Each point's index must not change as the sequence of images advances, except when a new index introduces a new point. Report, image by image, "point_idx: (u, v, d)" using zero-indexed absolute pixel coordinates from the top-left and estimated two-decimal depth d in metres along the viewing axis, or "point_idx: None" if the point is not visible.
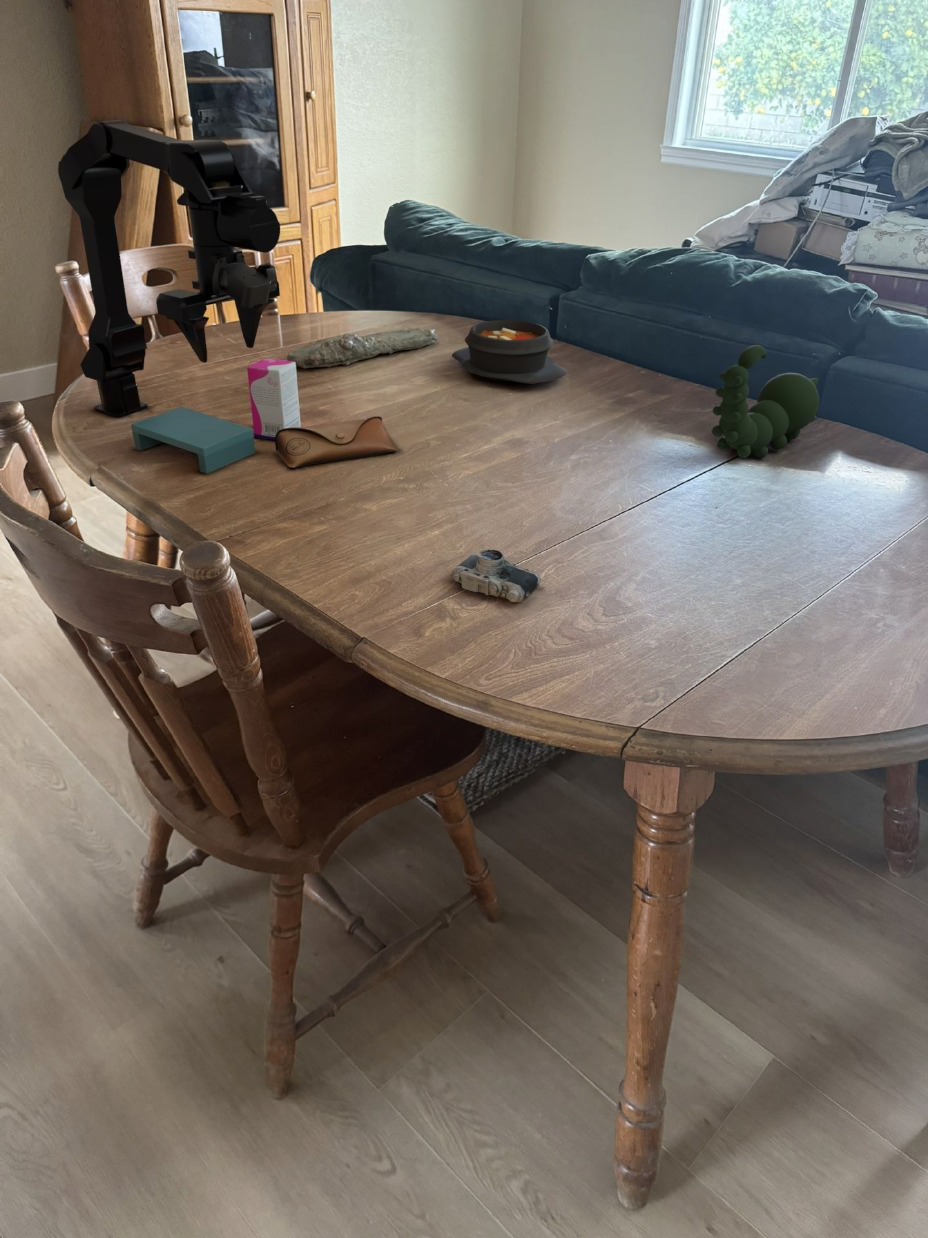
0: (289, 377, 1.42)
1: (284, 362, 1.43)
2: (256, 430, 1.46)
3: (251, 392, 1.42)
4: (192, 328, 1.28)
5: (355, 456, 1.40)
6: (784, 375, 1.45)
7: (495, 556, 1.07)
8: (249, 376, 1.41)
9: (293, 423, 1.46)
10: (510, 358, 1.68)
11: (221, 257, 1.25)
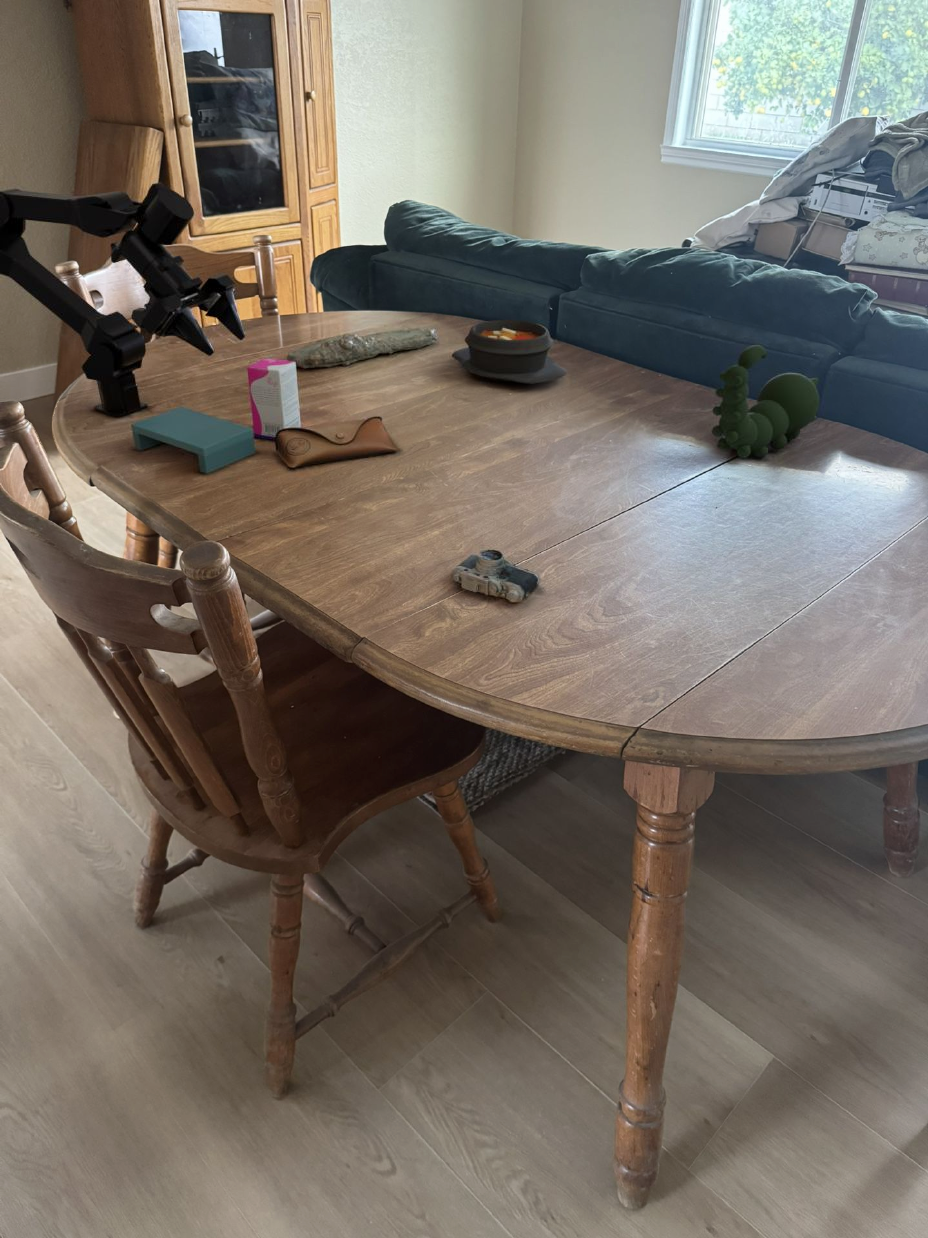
0: (289, 377, 1.42)
1: (284, 362, 1.43)
2: (256, 430, 1.46)
3: (251, 392, 1.42)
4: None
5: (355, 456, 1.40)
6: (784, 375, 1.45)
7: (495, 556, 1.07)
8: (249, 376, 1.41)
9: (293, 423, 1.46)
10: (510, 358, 1.68)
11: None
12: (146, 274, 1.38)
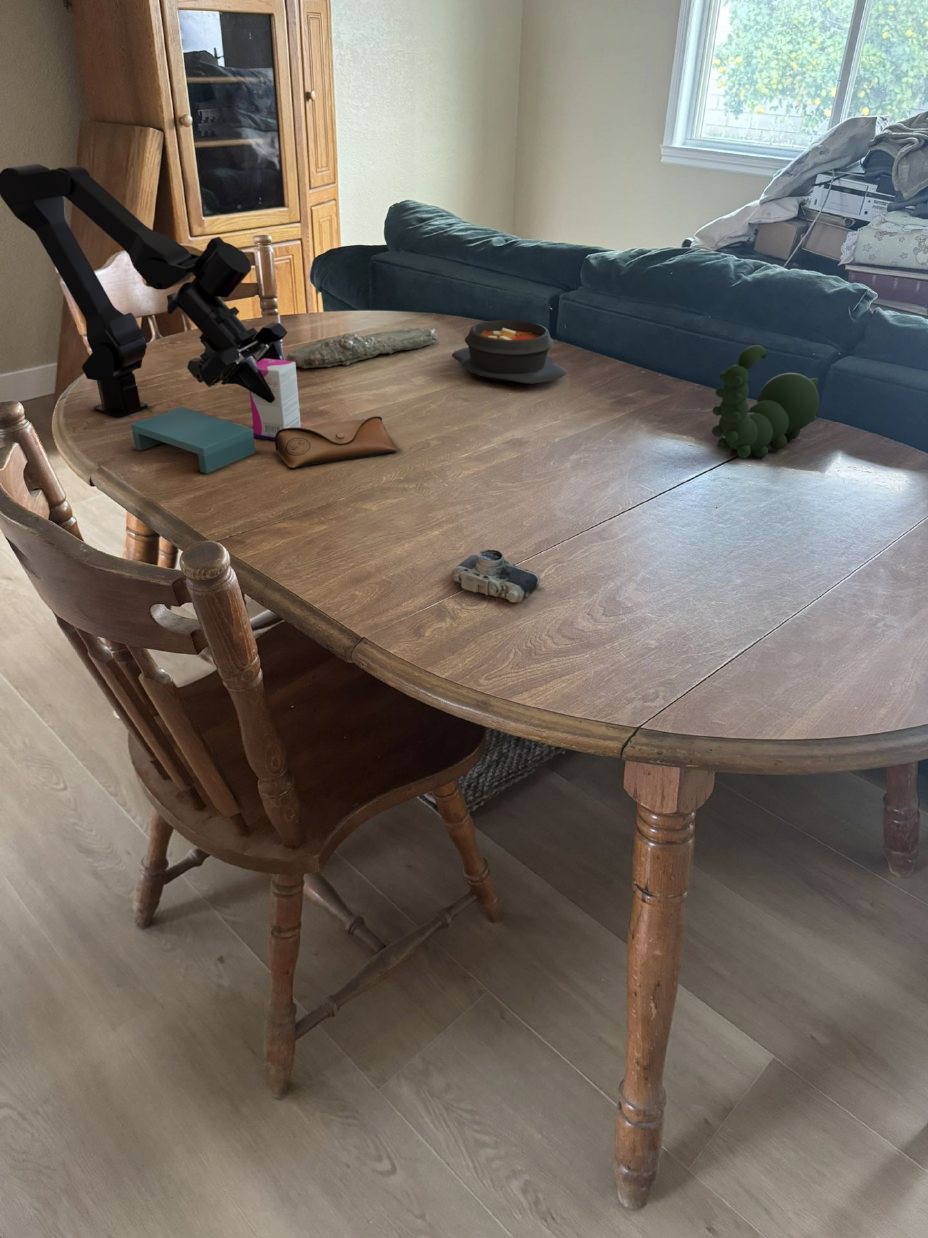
0: (288, 377, 1.42)
1: (284, 362, 1.43)
2: (256, 430, 1.46)
3: (251, 392, 1.42)
4: None
5: (355, 456, 1.40)
6: (784, 375, 1.45)
7: (495, 556, 1.07)
8: None
9: (293, 423, 1.46)
10: (510, 358, 1.68)
11: None
12: (203, 326, 1.39)
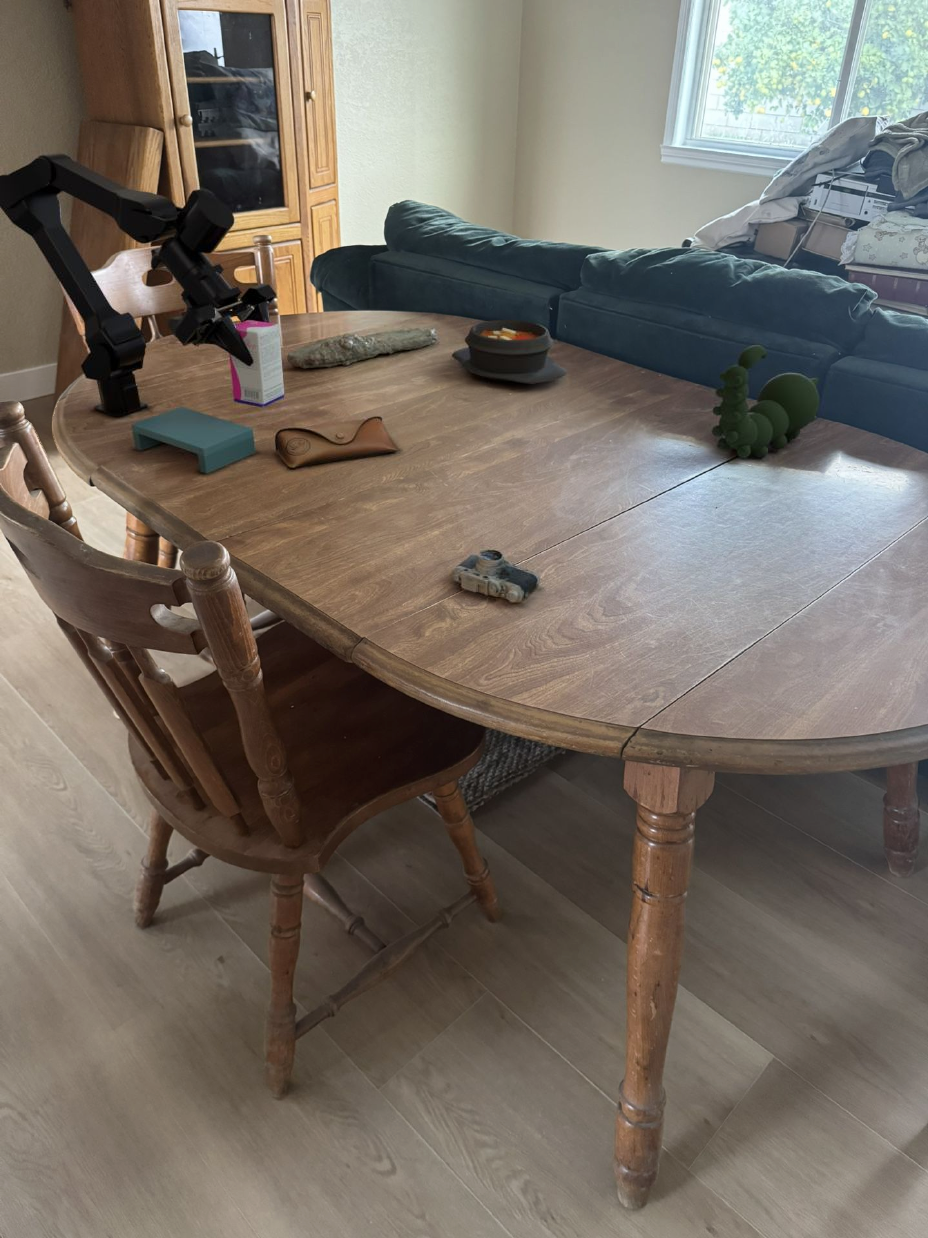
0: (270, 340, 1.36)
1: (266, 324, 1.37)
2: (236, 394, 1.40)
3: None
4: None
5: (355, 456, 1.40)
6: (784, 375, 1.45)
7: (495, 556, 1.07)
8: None
9: (275, 389, 1.40)
10: (510, 359, 1.68)
11: None
12: (184, 282, 1.34)
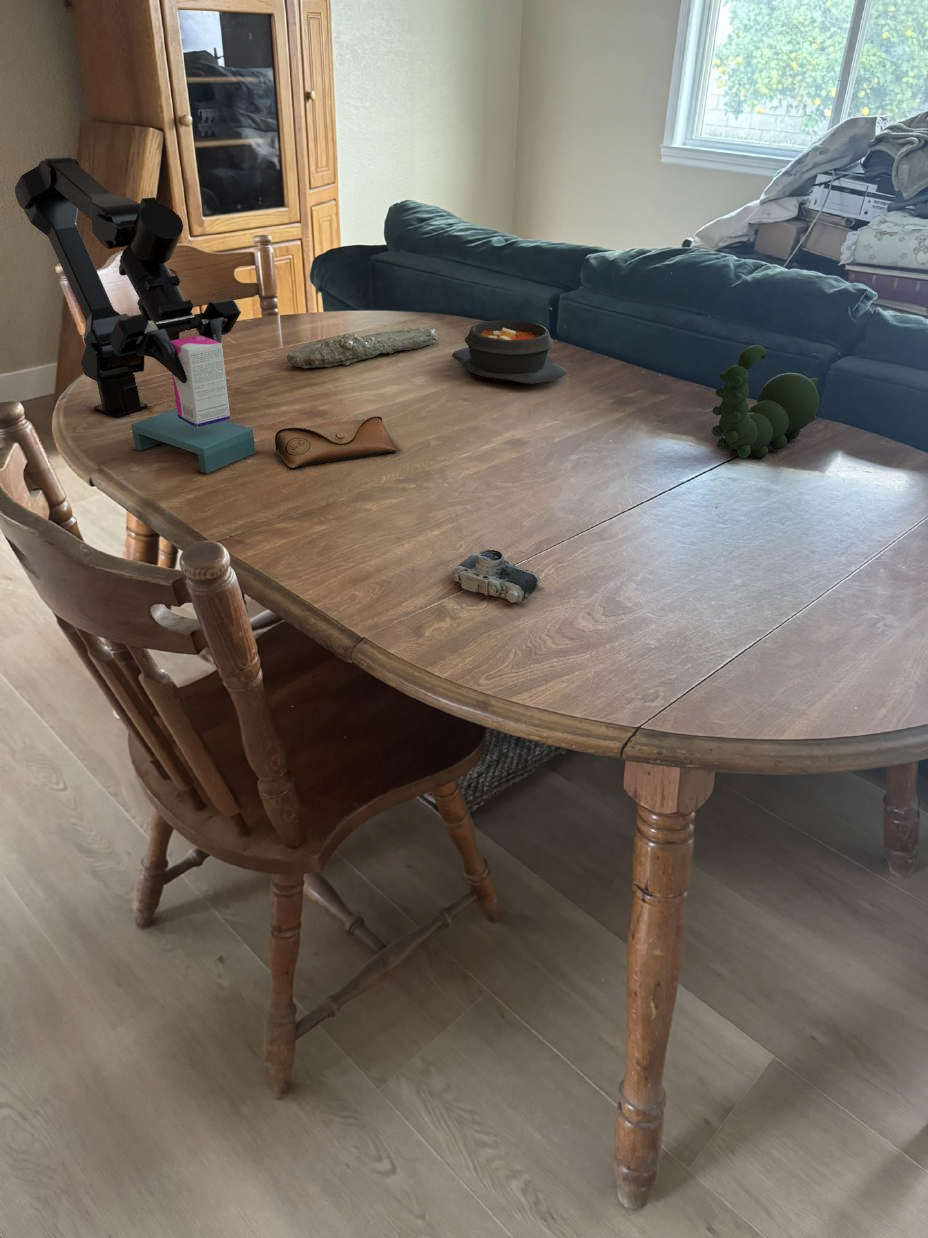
0: (207, 358, 1.29)
1: (209, 342, 1.30)
2: (178, 410, 1.35)
3: None
4: None
5: (355, 456, 1.40)
6: (784, 375, 1.45)
7: (495, 556, 1.07)
8: None
9: (215, 410, 1.33)
10: (510, 358, 1.68)
11: None
12: (136, 291, 1.30)
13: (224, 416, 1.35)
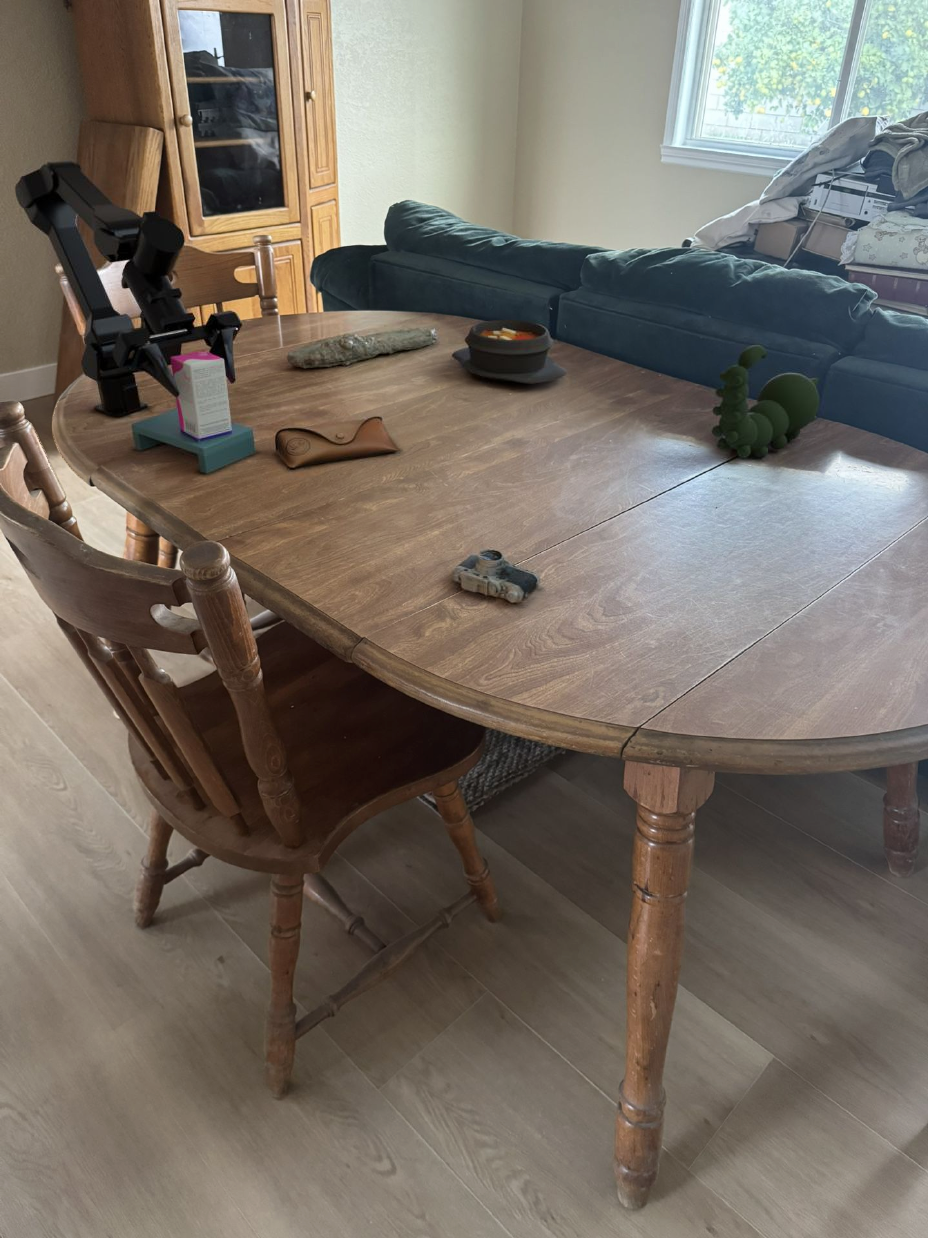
0: (209, 374, 1.30)
1: (211, 357, 1.31)
2: (180, 425, 1.36)
3: None
4: None
5: (355, 456, 1.40)
6: (784, 375, 1.45)
7: (495, 556, 1.07)
8: (172, 366, 1.31)
9: (217, 425, 1.34)
10: (510, 358, 1.68)
11: None
12: (139, 304, 1.31)
13: (226, 431, 1.36)
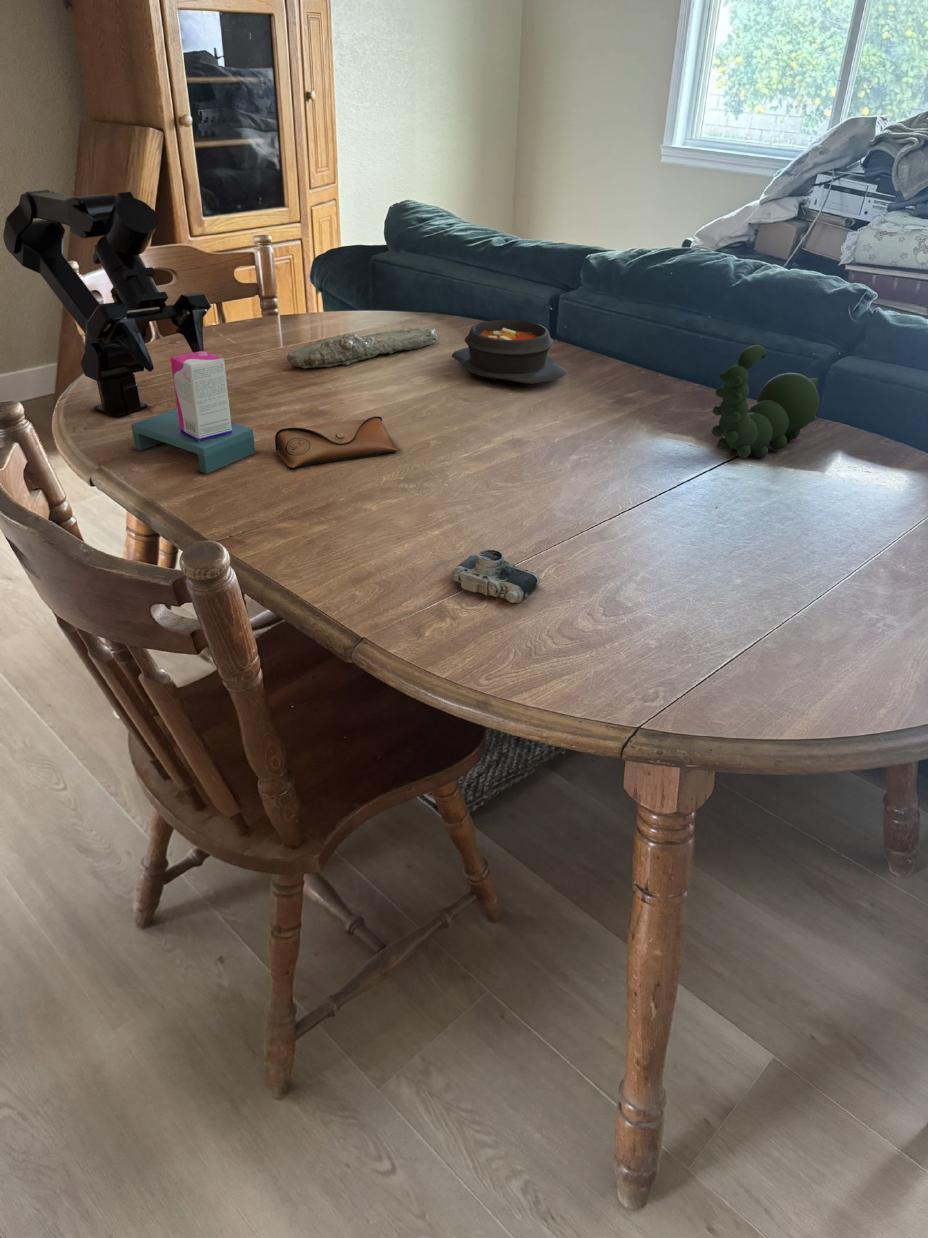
0: (209, 374, 1.30)
1: (211, 357, 1.31)
2: (180, 425, 1.36)
3: (175, 384, 1.33)
4: None
5: (355, 456, 1.40)
6: (784, 375, 1.45)
7: (495, 556, 1.07)
8: (172, 366, 1.31)
9: (217, 425, 1.34)
10: (510, 358, 1.68)
11: None
12: (112, 280, 1.35)
13: (226, 431, 1.36)
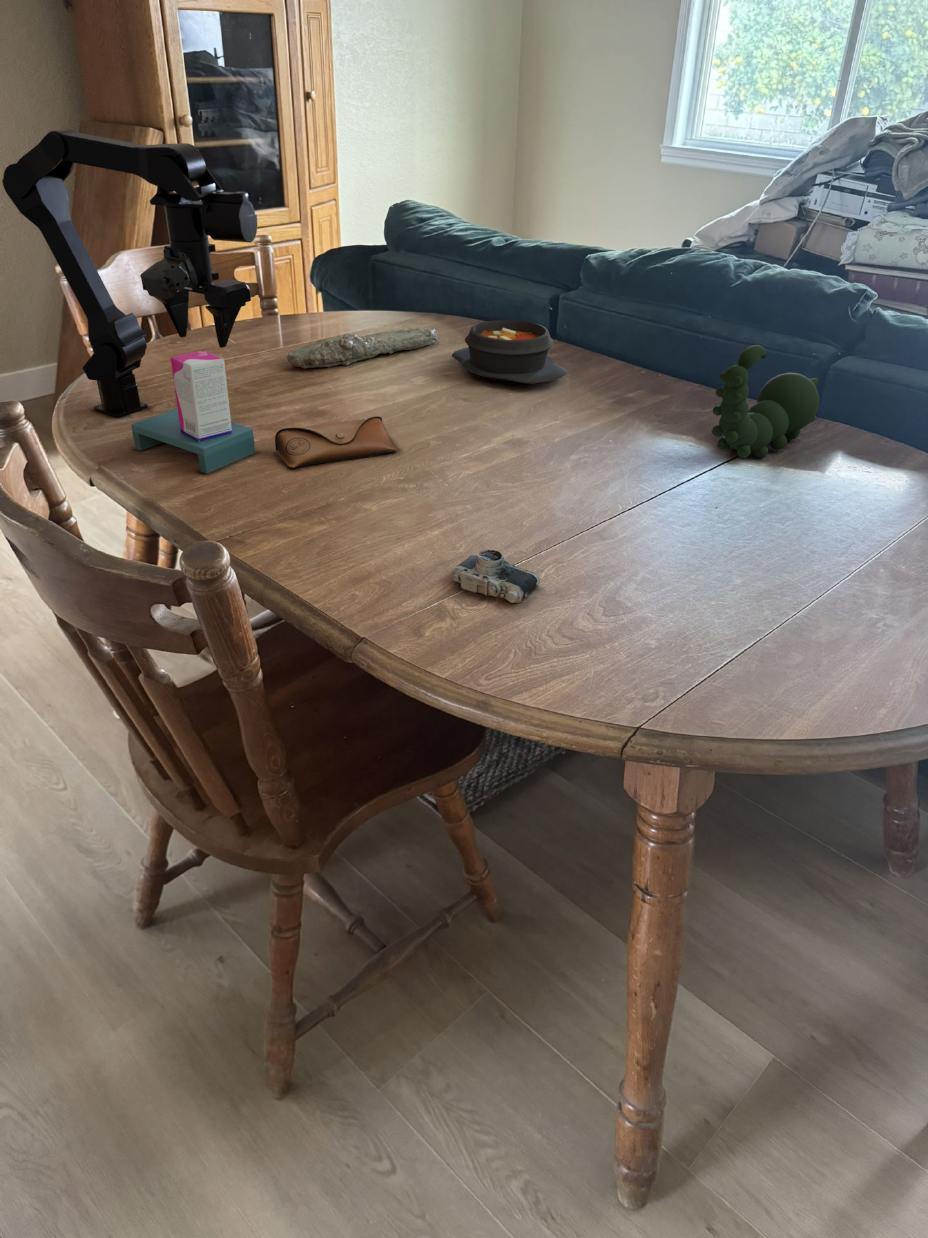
0: (209, 374, 1.30)
1: (211, 357, 1.31)
2: (180, 425, 1.36)
3: (175, 384, 1.33)
4: None
5: (355, 456, 1.40)
6: (784, 375, 1.45)
7: (494, 556, 1.07)
8: (172, 366, 1.31)
9: (217, 425, 1.34)
10: (510, 358, 1.68)
11: (166, 248, 1.37)
12: (199, 244, 1.36)
13: (226, 431, 1.36)
